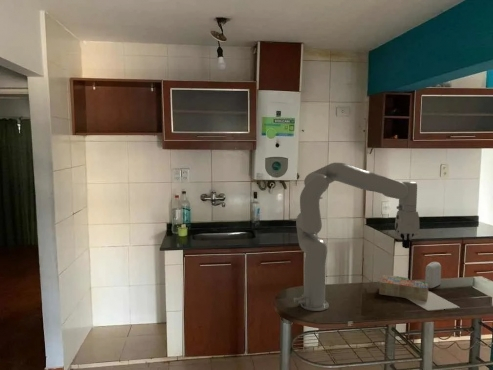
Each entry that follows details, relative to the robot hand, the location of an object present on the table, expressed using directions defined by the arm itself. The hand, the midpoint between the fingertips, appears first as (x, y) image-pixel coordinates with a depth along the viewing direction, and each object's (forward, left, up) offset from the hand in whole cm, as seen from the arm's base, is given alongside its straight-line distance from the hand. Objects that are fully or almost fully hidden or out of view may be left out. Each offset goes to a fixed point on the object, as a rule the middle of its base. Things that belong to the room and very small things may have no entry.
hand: (405, 247), depth 174 cm
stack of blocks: (0, +2, -22) cm, 22 cm away
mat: (+10, 0, -25) cm, 27 cm away
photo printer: (+26, +15, -25) cm, 40 cm away
